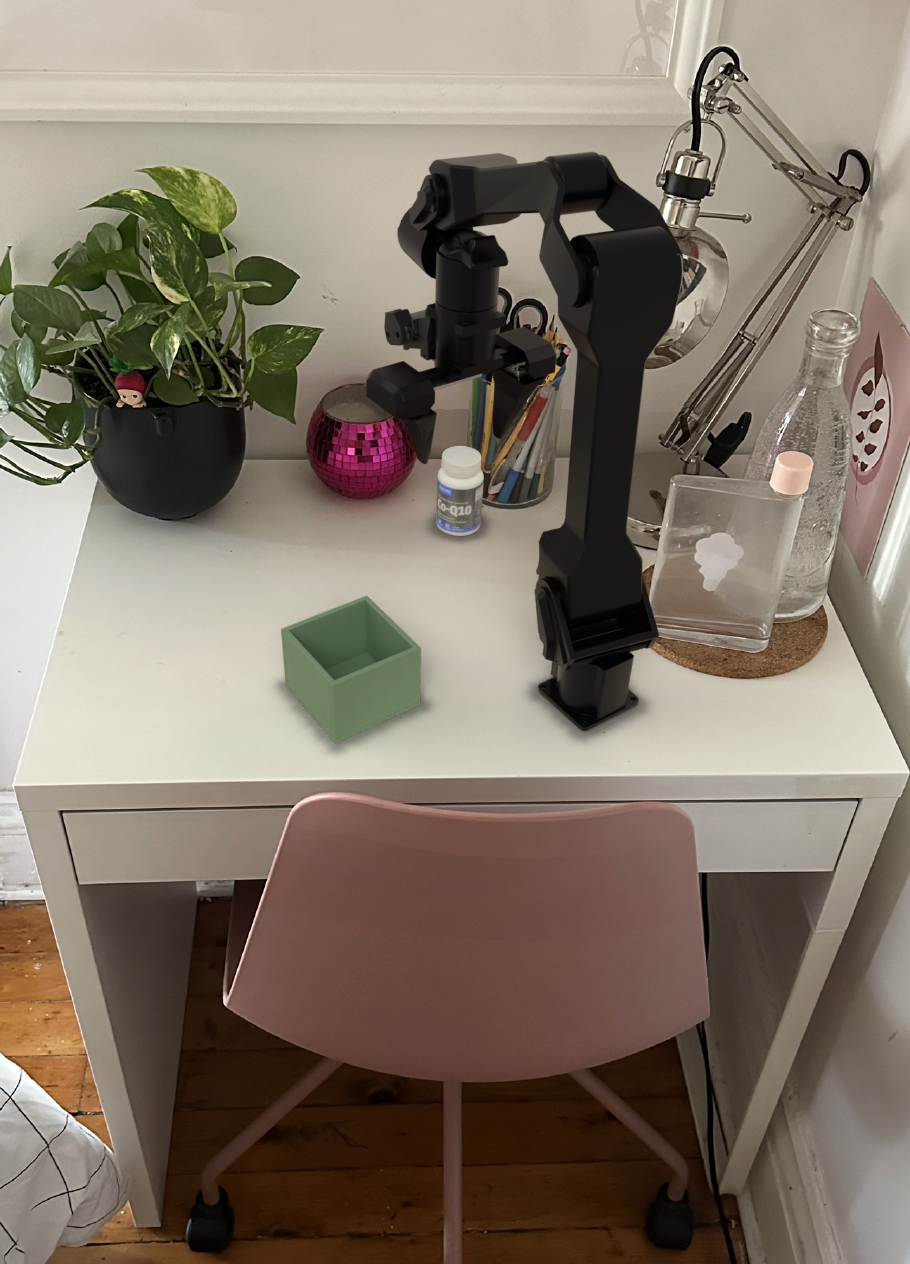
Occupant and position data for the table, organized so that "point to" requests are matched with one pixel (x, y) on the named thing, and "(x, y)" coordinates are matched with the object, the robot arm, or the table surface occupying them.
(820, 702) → the table surface
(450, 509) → the pill bottle
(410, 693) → the waste bin
